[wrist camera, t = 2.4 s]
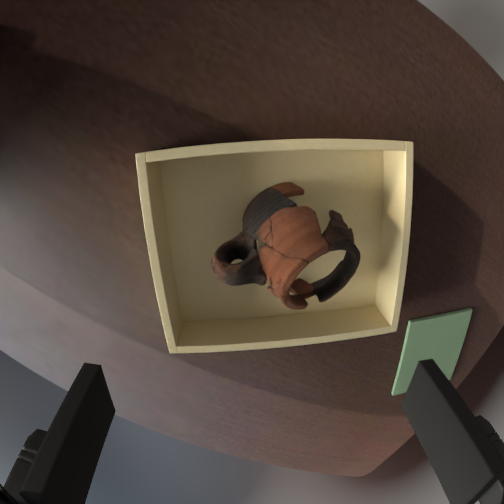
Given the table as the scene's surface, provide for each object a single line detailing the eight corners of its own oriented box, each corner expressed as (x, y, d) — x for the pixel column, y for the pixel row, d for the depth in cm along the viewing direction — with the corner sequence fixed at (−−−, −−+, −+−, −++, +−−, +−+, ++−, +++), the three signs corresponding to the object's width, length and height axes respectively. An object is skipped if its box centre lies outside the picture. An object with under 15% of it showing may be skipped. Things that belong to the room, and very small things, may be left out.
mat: (470, 307, 34) (473, 309, 33) (448, 377, 38) (450, 379, 37) (408, 319, 34) (410, 322, 33) (390, 393, 38) (392, 395, 37)
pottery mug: (319, 163, 28) (378, 216, 22) (316, 239, 34) (359, 294, 29) (187, 203, 25) (219, 276, 20) (210, 279, 32) (239, 347, 26)
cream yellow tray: (388, 140, 27) (413, 141, 22) (379, 308, 33) (396, 331, 28) (151, 150, 26) (134, 153, 22) (177, 325, 32) (169, 353, 28)
